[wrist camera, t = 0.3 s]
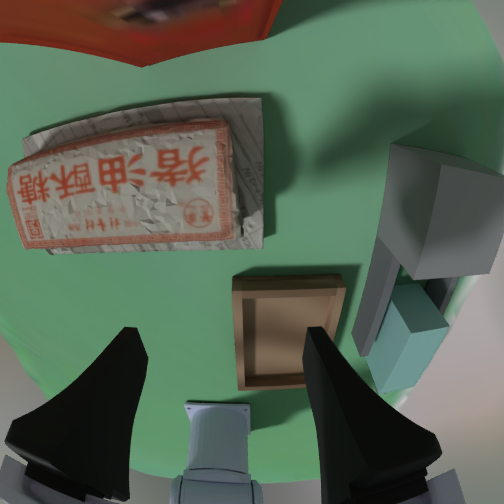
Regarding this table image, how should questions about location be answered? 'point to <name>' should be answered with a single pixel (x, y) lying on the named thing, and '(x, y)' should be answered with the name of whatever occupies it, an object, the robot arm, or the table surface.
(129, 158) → the packaged product
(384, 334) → the tall teal block
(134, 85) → the table surface
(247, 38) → the file binder
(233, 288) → the tray
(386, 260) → the bay
